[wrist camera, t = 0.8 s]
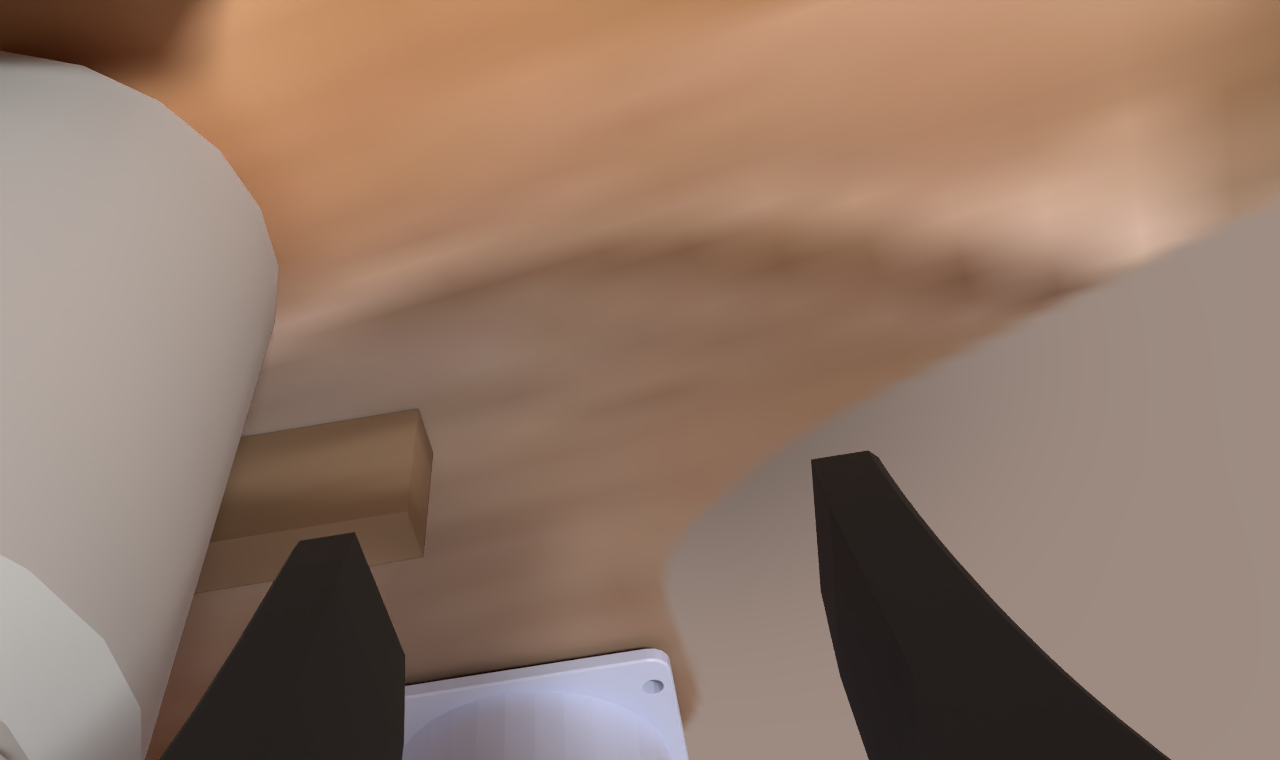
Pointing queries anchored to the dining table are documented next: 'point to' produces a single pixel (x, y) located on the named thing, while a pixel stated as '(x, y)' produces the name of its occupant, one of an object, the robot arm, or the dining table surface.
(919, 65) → the dining table surface
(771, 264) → the dining table surface
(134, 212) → the can
